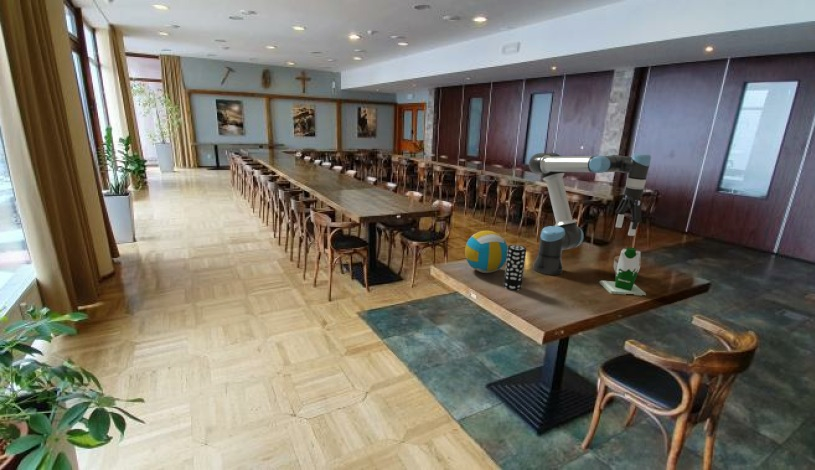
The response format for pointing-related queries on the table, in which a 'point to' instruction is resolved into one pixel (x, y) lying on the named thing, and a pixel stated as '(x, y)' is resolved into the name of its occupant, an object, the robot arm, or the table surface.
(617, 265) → the lidded bowl
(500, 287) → the table surface
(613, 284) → the board
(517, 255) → the spotted tube
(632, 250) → the soya milk
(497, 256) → the volleyball
